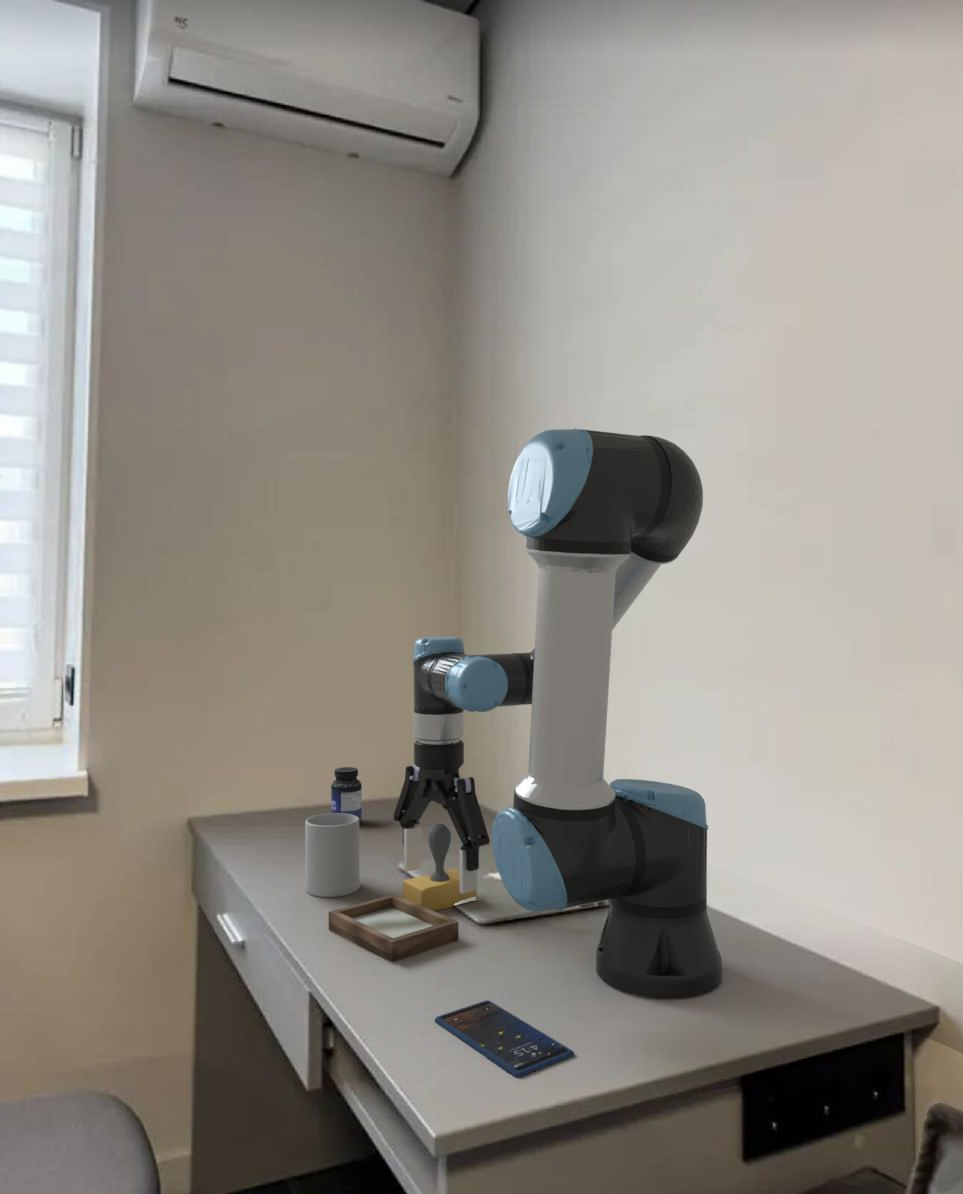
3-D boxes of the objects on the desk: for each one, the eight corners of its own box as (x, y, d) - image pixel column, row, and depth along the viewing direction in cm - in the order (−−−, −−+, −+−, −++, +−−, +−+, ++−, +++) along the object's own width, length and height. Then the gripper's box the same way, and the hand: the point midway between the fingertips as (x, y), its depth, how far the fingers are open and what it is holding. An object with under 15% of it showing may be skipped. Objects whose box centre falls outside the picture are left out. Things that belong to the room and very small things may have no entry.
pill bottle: (329, 821, 188) (328, 767, 188) (359, 818, 190) (358, 765, 190) (333, 828, 182) (333, 772, 182) (364, 825, 184) (363, 770, 184)
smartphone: (488, 998, 105) (576, 1051, 93) (488, 1005, 105) (576, 1059, 93) (432, 1016, 101) (517, 1074, 88) (432, 1024, 101) (517, 1083, 88)
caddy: (458, 940, 124) (458, 921, 124) (391, 962, 116) (391, 942, 116) (393, 911, 135) (393, 894, 135) (328, 929, 128) (328, 911, 128)
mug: (364, 893, 143) (364, 823, 143) (309, 900, 140) (309, 828, 140) (349, 871, 154) (349, 806, 154) (298, 877, 151) (298, 810, 151)
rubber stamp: (422, 915, 133) (421, 833, 133) (401, 904, 138) (401, 824, 138) (477, 901, 139) (477, 822, 139) (456, 891, 144) (456, 815, 144)
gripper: (513, 747, 132) (513, 895, 132) (409, 727, 150) (410, 856, 151) (473, 754, 127) (473, 907, 127) (371, 732, 146) (371, 865, 146)
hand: (439, 880), depth 139 cm, fingers open, 13 cm apart
